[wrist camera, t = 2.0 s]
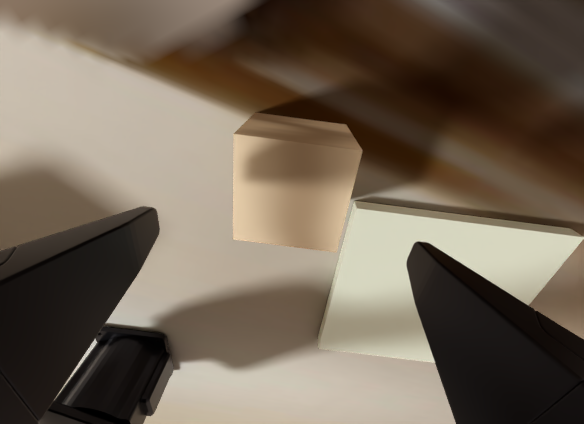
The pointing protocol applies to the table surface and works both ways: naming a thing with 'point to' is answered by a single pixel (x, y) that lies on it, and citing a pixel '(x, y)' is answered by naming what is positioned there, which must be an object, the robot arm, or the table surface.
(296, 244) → the maple cube
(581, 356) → the robot arm
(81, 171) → the table surface
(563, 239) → the sage board
